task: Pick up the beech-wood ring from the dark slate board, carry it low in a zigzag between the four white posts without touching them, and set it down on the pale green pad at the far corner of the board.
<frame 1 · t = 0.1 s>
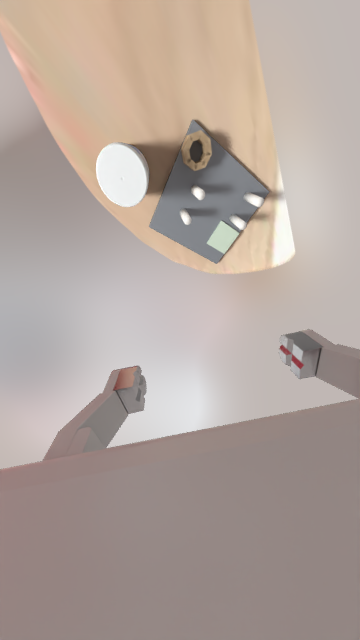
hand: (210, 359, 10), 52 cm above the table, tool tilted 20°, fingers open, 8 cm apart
ring: (194, 151, 41), point 1 cm above the table, touching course
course: (206, 208, 50), on the table
supplement tub: (129, 171, 43), on the table
pad: (222, 237, 55), resting on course
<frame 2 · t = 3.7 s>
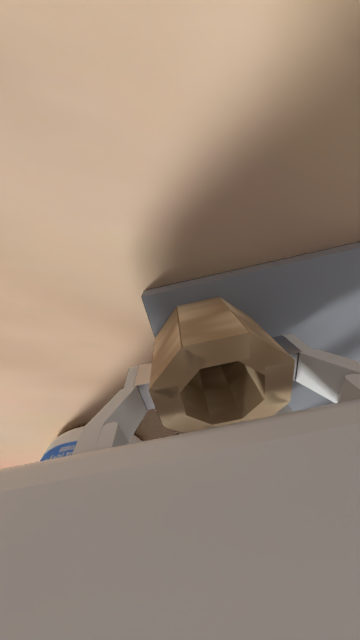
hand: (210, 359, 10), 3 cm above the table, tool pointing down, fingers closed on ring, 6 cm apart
ring: (205, 344, 11), point 1 cm above the table, touching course, gripper
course: (325, 386, 15), on the table
supplement tub: (102, 448, 18), on the table
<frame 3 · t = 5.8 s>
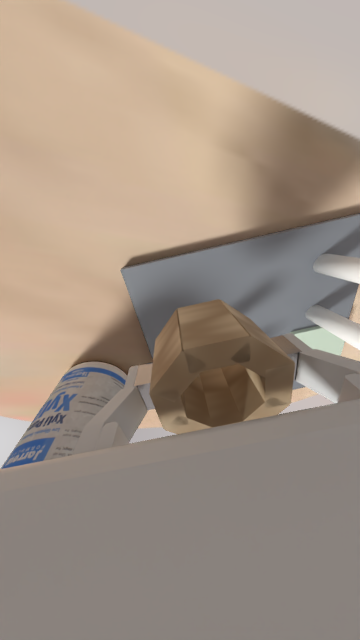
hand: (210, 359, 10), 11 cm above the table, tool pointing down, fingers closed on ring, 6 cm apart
ring: (205, 346, 11), point 10 cm above the table, touching gripper
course: (246, 334, 23), on the table
supplement tub: (100, 383, 25), on the table
pad: (313, 348, 24), resting on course
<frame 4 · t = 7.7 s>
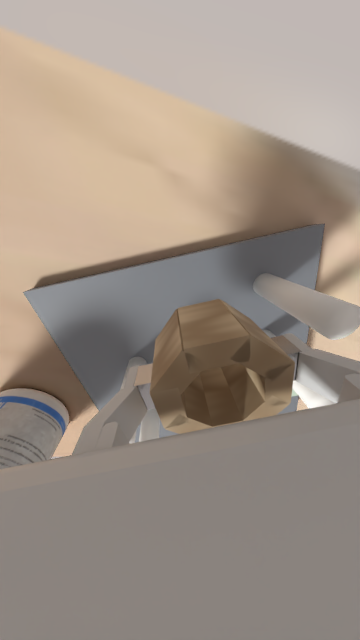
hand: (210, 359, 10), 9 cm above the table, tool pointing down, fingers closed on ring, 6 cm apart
ring: (205, 346, 11), point 7 cm above the table, touching gripper
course: (192, 359, 21), on the table
supplement tub: (35, 409, 23), on the table
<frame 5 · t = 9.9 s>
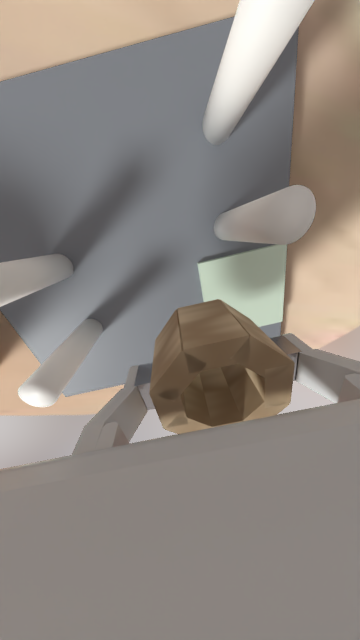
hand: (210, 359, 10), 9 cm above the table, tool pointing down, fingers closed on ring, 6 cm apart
ring: (205, 346, 11), point 8 cm above the table, touching gripper
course: (139, 271, 16), on the table
pad: (241, 293, 16), resting on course
when the fingers open (5 cm above the table, at t = 11.9 s): ring drops 1 cm, resting on pad.
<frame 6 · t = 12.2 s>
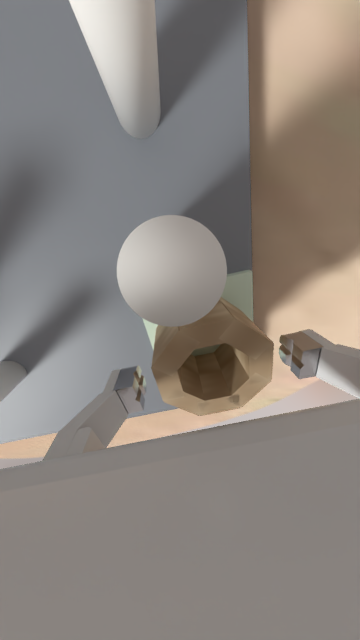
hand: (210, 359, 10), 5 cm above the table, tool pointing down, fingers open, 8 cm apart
ring: (200, 334, 12), point 2 cm above the table, touching pad
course: (68, 301, 13), on the table
pad: (200, 330, 13), resting on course
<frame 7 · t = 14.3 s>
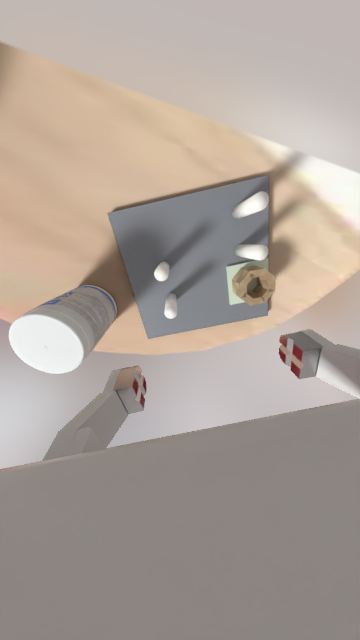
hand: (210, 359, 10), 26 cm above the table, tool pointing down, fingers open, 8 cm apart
ring: (248, 282, 33), point 2 cm above the table, touching pad
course: (197, 270, 33), on the table
supplement tub: (95, 306, 36), on the table
pad: (247, 282, 33), resting on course
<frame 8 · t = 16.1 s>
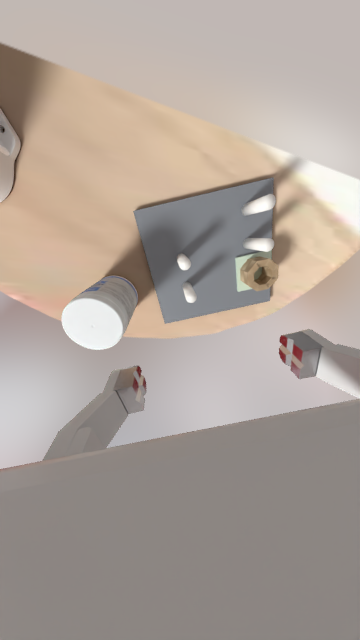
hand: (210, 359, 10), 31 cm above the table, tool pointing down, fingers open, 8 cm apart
ring: (253, 271, 37), point 2 cm above the table, touching pad
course: (209, 261, 38), on the table
supplement tub: (117, 295, 40), on the table
pad: (253, 271, 38), resting on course
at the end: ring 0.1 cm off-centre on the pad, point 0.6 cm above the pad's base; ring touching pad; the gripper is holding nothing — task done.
